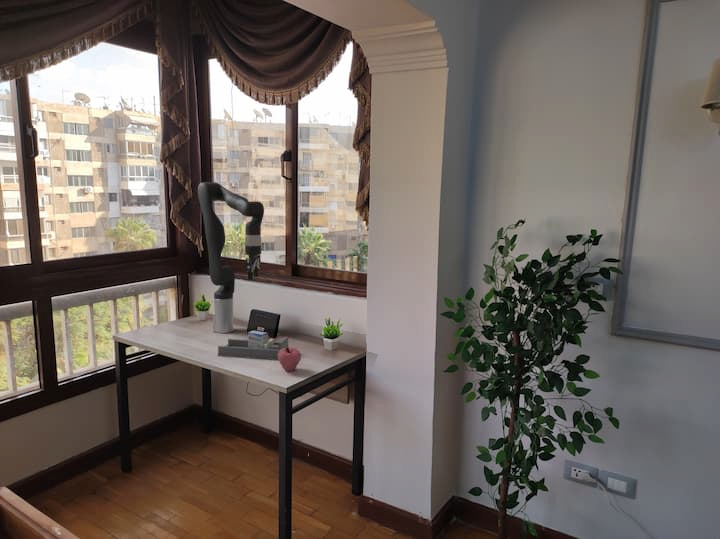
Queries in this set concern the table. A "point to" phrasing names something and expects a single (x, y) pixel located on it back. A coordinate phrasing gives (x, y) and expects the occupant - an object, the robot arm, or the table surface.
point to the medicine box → (257, 339)
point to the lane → (250, 349)
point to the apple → (289, 358)
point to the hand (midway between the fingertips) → (253, 278)
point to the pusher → (270, 345)
